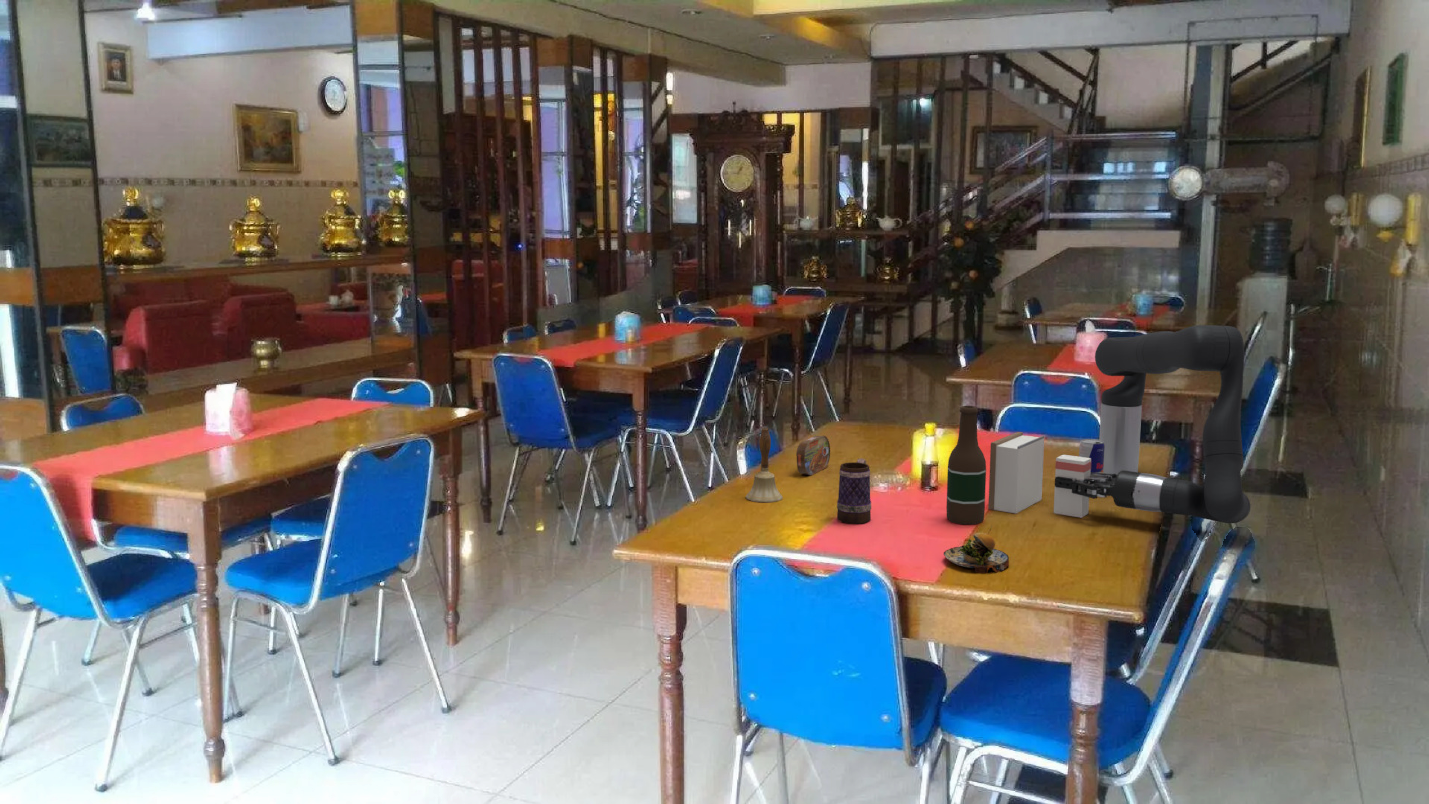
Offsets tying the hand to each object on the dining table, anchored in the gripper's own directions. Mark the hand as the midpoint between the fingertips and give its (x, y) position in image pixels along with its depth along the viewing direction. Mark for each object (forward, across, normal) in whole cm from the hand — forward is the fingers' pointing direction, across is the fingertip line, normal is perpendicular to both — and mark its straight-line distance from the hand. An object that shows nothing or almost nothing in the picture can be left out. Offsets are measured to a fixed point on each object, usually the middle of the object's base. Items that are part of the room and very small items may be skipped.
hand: (1059, 479), depth 241 cm
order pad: (+9, 0, +7) cm, 11 cm away
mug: (+32, +30, +7) cm, 44 cm away
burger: (-1, +43, +8) cm, 44 cm away
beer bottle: (+13, +18, +7) cm, 23 cm away
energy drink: (0, -19, +7) cm, 20 cm away
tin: (+62, 0, +7) cm, 62 cm away
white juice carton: (-3, 0, +7) cm, 8 cm away
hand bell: (+57, +28, +7) cm, 64 cm away
